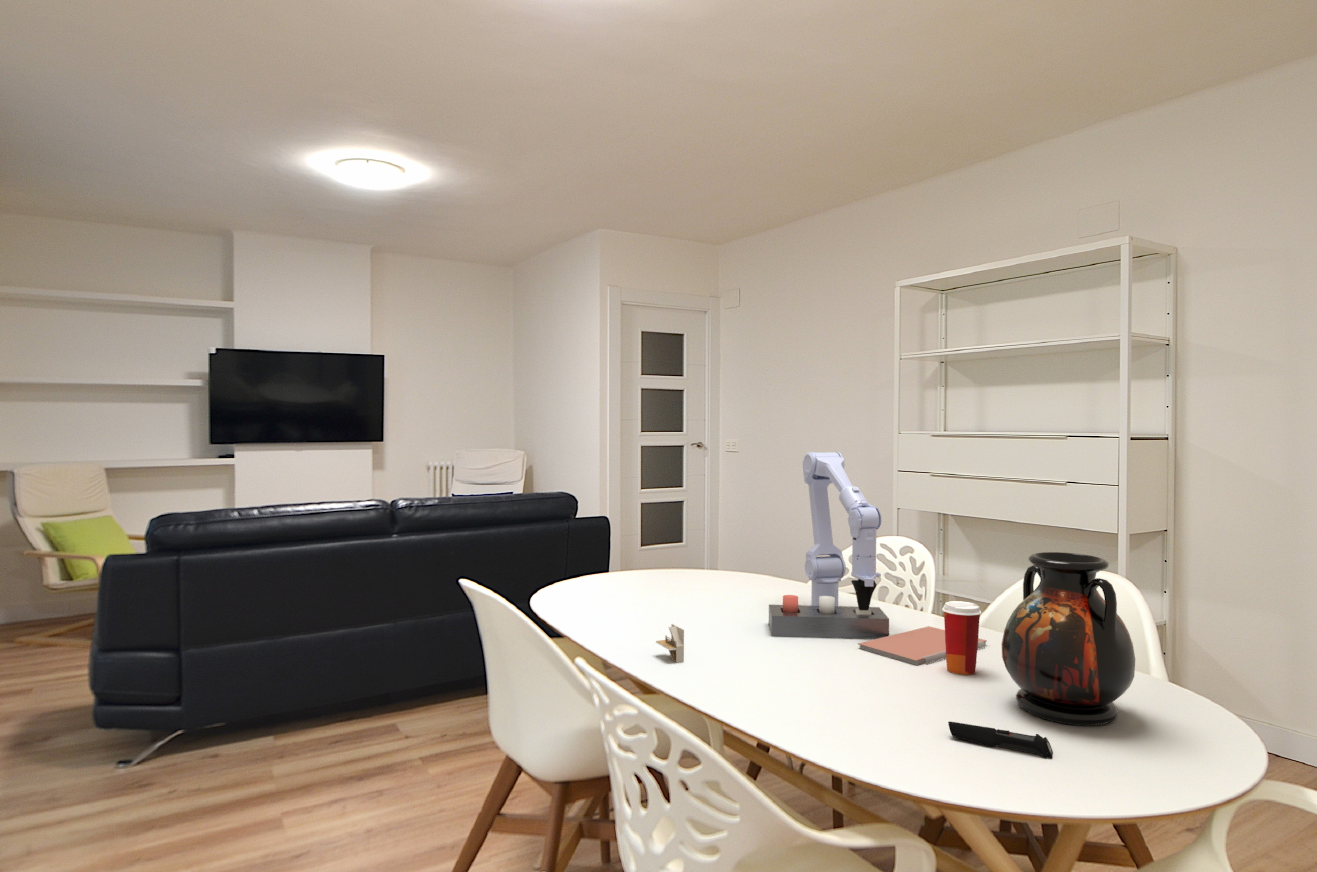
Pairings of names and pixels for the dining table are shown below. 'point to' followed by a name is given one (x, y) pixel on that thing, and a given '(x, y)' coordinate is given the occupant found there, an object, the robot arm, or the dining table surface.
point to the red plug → (790, 604)
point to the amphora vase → (1068, 642)
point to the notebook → (913, 646)
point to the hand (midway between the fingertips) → (863, 609)
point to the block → (828, 623)
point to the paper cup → (961, 636)
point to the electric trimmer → (1001, 738)
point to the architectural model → (674, 643)
